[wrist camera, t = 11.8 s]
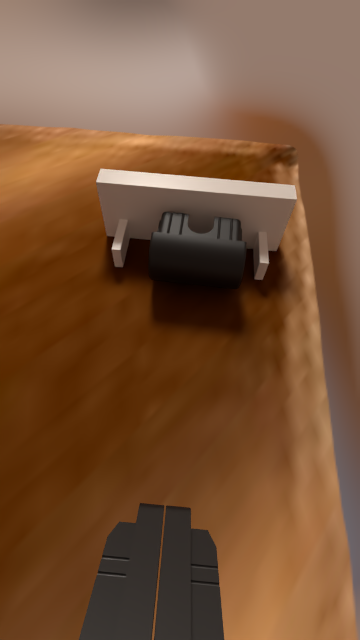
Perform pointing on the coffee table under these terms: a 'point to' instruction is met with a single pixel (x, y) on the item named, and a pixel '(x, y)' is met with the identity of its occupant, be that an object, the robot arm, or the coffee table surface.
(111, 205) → the white board with feet
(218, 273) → the end cap
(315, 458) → the coffee table surface
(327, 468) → the coffee table surface
